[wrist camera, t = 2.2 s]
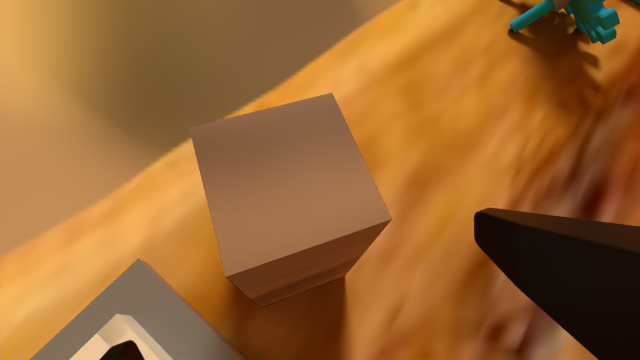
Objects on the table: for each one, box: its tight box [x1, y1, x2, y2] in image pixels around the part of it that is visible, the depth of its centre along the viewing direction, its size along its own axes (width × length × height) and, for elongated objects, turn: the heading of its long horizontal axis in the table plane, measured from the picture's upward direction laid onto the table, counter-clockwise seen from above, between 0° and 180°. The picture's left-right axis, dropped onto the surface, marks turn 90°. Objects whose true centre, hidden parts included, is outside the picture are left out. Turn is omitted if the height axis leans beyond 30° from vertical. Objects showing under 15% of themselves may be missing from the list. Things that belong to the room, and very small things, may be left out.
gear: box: [509, 0, 620, 44], centre depth 27 cm, size 11×6×10 cm
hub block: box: [190, 93, 392, 307], centre depth 15 cm, size 5×5×10 cm
